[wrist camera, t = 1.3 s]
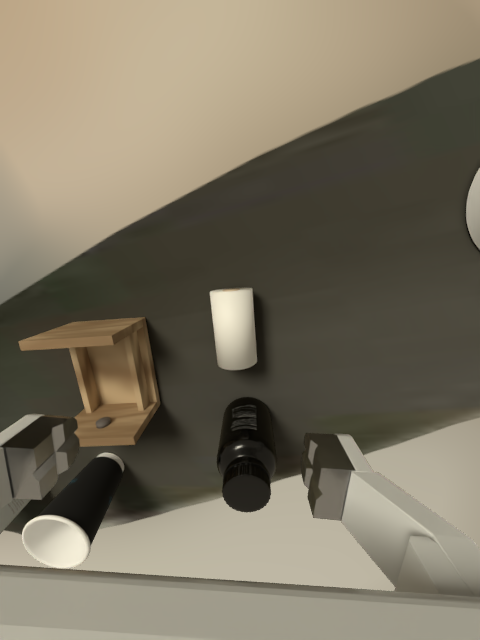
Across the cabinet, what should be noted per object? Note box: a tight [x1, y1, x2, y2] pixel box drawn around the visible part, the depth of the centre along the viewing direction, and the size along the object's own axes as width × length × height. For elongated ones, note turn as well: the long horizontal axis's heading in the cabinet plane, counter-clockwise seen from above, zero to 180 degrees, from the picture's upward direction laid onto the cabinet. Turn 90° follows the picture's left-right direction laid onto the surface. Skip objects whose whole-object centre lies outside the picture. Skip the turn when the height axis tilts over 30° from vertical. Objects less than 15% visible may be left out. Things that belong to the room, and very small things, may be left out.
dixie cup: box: [22, 453, 124, 569], centre depth 33 cm, size 8×8×11 cm
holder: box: [19, 317, 160, 447], centre depth 30 cm, size 13×10×8 cm
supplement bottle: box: [217, 397, 277, 512], centre depth 29 cm, size 7×7×12 cm
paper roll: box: [210, 287, 257, 370], centre depth 30 cm, size 9×5×5 cm, turn 5°
